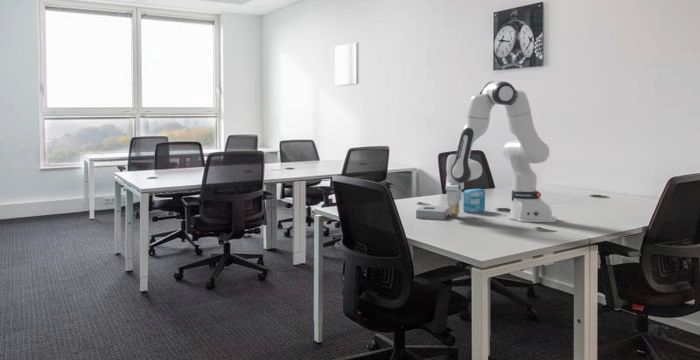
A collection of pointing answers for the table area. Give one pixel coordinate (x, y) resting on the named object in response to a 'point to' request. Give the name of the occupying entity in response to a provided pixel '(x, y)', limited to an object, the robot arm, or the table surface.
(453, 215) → the plug
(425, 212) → the socket box
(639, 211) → the table surface
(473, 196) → the data package
